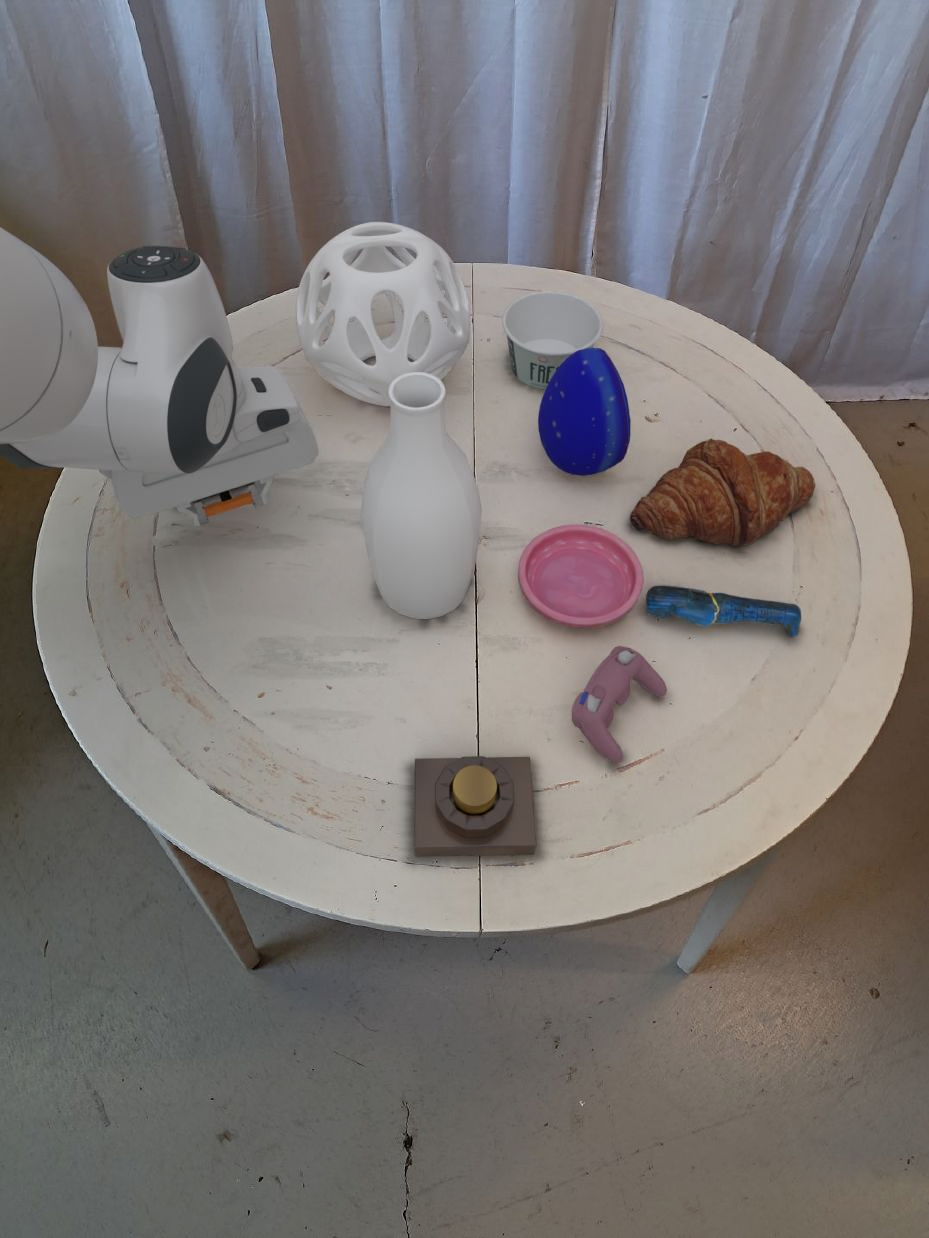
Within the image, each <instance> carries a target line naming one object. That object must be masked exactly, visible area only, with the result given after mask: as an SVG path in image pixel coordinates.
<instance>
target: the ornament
mask: <svg viewBox="0 0 929 1238" xmlns="http://www.w3.org/2000/svg"><path fill="white" fill-rule="evenodd" d="M629 406H630V405H629V400H628V395H627V392H626V388H625V385H624V381H623V380H622V377H621V376H620V373H619V371H618V369H617V368H616V365H615V363H614V362H613V361H612V359H611V357H610V356H609V355H608V353H607V352H606V350H604V349H602V348H600V347H593V348H585V349H582V350H578V351H576V352H575V353H573V354H572V355H570V356H569V357H568V358H566V359H565V361H564V362H563V363H562V364H561V365H560V366H559V368H558V369H557V370H556V372H555V373H554V375H553V376H552V378H551V380H550V382H549V384H548V385H547V387H546V390H544V391H543V395H542V397H541V401H540V404H539V409H538V415H537V416H538V417H537V418H538V419H537V430H538V435H539V439H540V443H541V446H542V448H543V450H544V452H545V454H546V457H547V458H548V459H549V461H550V462H551V463H552V464H553V465H554V466H555V467H556V468H558V469H559V470H560V471H562V472H564V473H566V474H570V475H573V476H580V477H587V476H594V475H598V474H601V473H604V472H606V471H607V470H610V469H613V467H615V466H617V465H618V464H620V463H621V462H622V461H623V460H624V459H625V457H626V456H627V452H628V449H629V445H630V443H631V429H632V428H631V427H632V425H631V424H632V423H631V415H630V407H629Z"/></svg>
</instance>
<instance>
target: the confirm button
mask: <svg viewBox="0 0 929 1238" xmlns="http://www.w3.org/2000/svg"><path fill="white" fill-rule="evenodd" d="M496 792H497V782H496V779H495V777H494V775H493V774H492V772H491V771H489V770H488V769H487V768H485V767H482V766H478V765H471V766H467V767H465V768H463V769H461V770H460V771H459V772H458V773H457V774H456V776H455V778H454V781H453V799H454V801H455V803H456V805H457V806H458V807H459V808H460V809H461V810H463V811H464V812H467V813H471V814H479V813H483V812H485V811H487V810H488V809H489V808H491V806H492V805H493V804H494V802H495V799H496Z"/></svg>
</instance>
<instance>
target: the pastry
mask: <svg viewBox="0 0 929 1238" xmlns="http://www.w3.org/2000/svg"><path fill="white" fill-rule="evenodd" d="M816 486H817V485H816V481H815V478H814V476H813V473H811V471H810V470H808V469H806V468H805V467H804V466H793V465H792V464H791V463H790V462H788V461H786V459H784V458H782V457H781V456H779V455H778V454H775V453H773V452H771V451H762V452H757V453H751V454H746V453H745V452H743V451H741V450H740V448H739V447H737V446H736V445H733V444H730V443H728V442H727V441H725V440H721V439H713V438H709V439H707V440H704V441H701V442H698V443H696V444H695V445H693V446H691V447H690V448H689V449H687V450H686V453H684V455H683V458H682V460H681V462H680V464H679V466H678V467H674V468H672V469H669V470H668V471H666V473H664V474H663V475H662V476H660V478H659V479H658V480H657V481H656V483H655V485H654V486H652V488H651V489H650V491H649V492H648V493H647V494H646V495H645V496H641V497H640V499H639V500H638V501H637V503H636V505H635V507H634V508H633V509H632V511H631V513H630V515H629V516H630V517H629V520H630V522H631V526H632V527H633V528H634V529H635V530H636V531H642V530H645V531H647V532H649V533H651V535H654V536H657V537H659V538H663V539H666V540H667V539H668V540H669V539H670V540H676V539H684V538H687V537H689V538H695V539H697V540H698V541H699V540H700V541H702V542H705V543H709V544H713V545H723V544H725V545H727V546H731V547H733V548H739V547H742V546H744V545H752V544H754V542H755V541H756V539H758V538H759V537H760V538H761V537H763V536H765V535H766V534H768V533H769V532H772V531H774V530H775V529H776V528H777V526H778V525H779V523H780V522H783V521H784V520H785V519H786V517H787V516H788V515H789V514H791V513H796V512H797V511H799V510H800V509H802V508H803V507H804V506H805V505H806V504H807V503H808V502H809V501H810V500H811V498H812V497H813V495H814V492H815V489H816Z"/></svg>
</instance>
